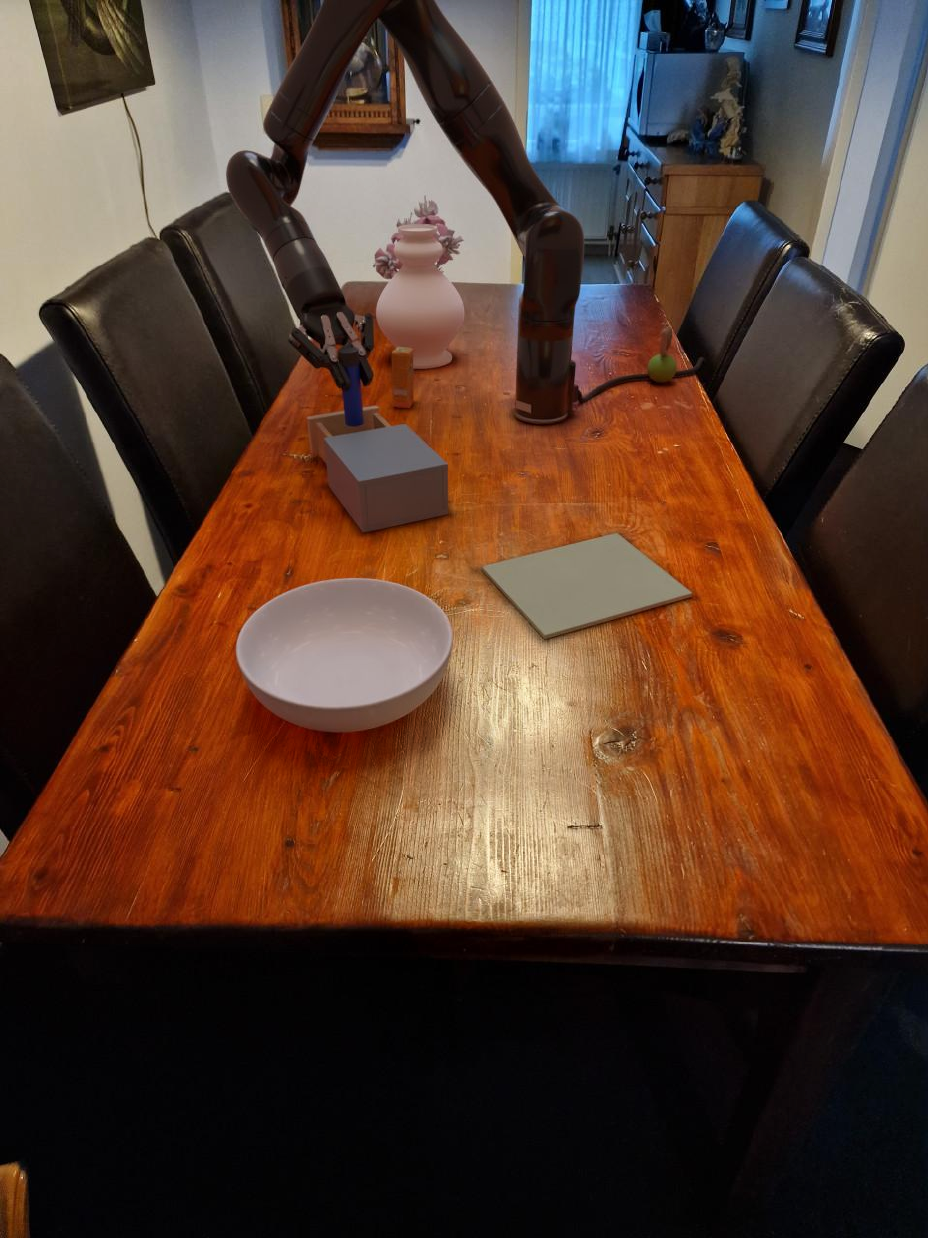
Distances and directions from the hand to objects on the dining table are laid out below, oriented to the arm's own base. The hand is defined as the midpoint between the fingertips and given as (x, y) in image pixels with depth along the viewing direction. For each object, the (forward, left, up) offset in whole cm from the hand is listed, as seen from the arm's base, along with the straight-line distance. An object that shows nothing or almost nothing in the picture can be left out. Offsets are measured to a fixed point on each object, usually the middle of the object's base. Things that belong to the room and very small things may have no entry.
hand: (358, 385), depth 118 cm
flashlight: (0, -2, -6) cm, 7 cm away
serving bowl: (+19, +49, -13) cm, 54 cm away
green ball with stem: (-64, -13, -13) cm, 67 cm away
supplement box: (-15, -23, -13) cm, 31 cm away
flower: (-40, -78, -13) cm, 89 cm away
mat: (-13, +42, -13) cm, 46 cm away
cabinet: (+1, +11, -13) cm, 17 cm away
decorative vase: (-28, -46, -13) cm, 56 cm away
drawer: (+1, -3, -12) cm, 13 cm away
